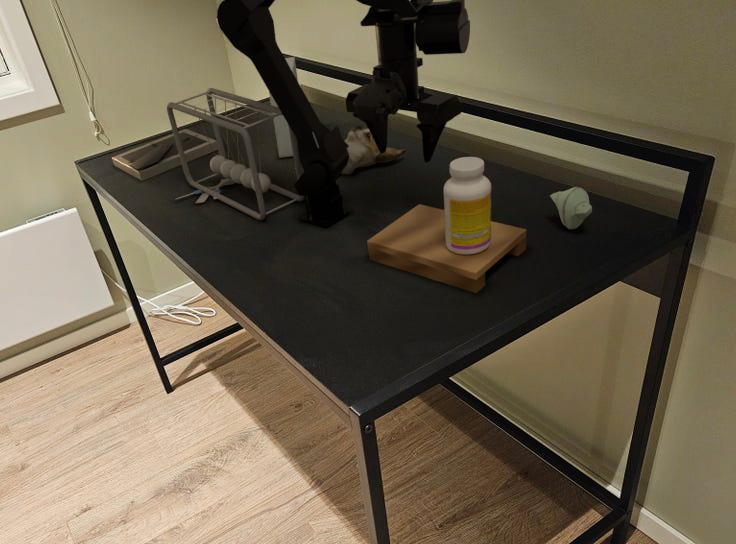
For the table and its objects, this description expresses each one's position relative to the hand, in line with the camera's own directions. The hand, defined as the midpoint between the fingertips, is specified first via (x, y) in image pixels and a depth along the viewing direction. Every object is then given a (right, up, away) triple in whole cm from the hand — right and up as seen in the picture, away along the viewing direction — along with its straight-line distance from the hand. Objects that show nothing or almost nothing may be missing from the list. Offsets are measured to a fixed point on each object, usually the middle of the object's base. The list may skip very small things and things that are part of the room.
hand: (404, 157), depth 107 cm
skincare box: (-20, +19, +48) cm, 55 cm away
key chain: (-36, +1, +30) cm, 47 cm away
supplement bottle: (+8, -16, -8) cm, 20 cm away
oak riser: (+6, -16, -3) cm, 18 cm away
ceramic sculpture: (-5, +7, +30) cm, 31 cm away
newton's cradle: (-29, +1, +28) cm, 40 cm away
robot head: (+26, -12, -2) cm, 29 cm away
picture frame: (-51, +16, +52) cm, 75 cm away
